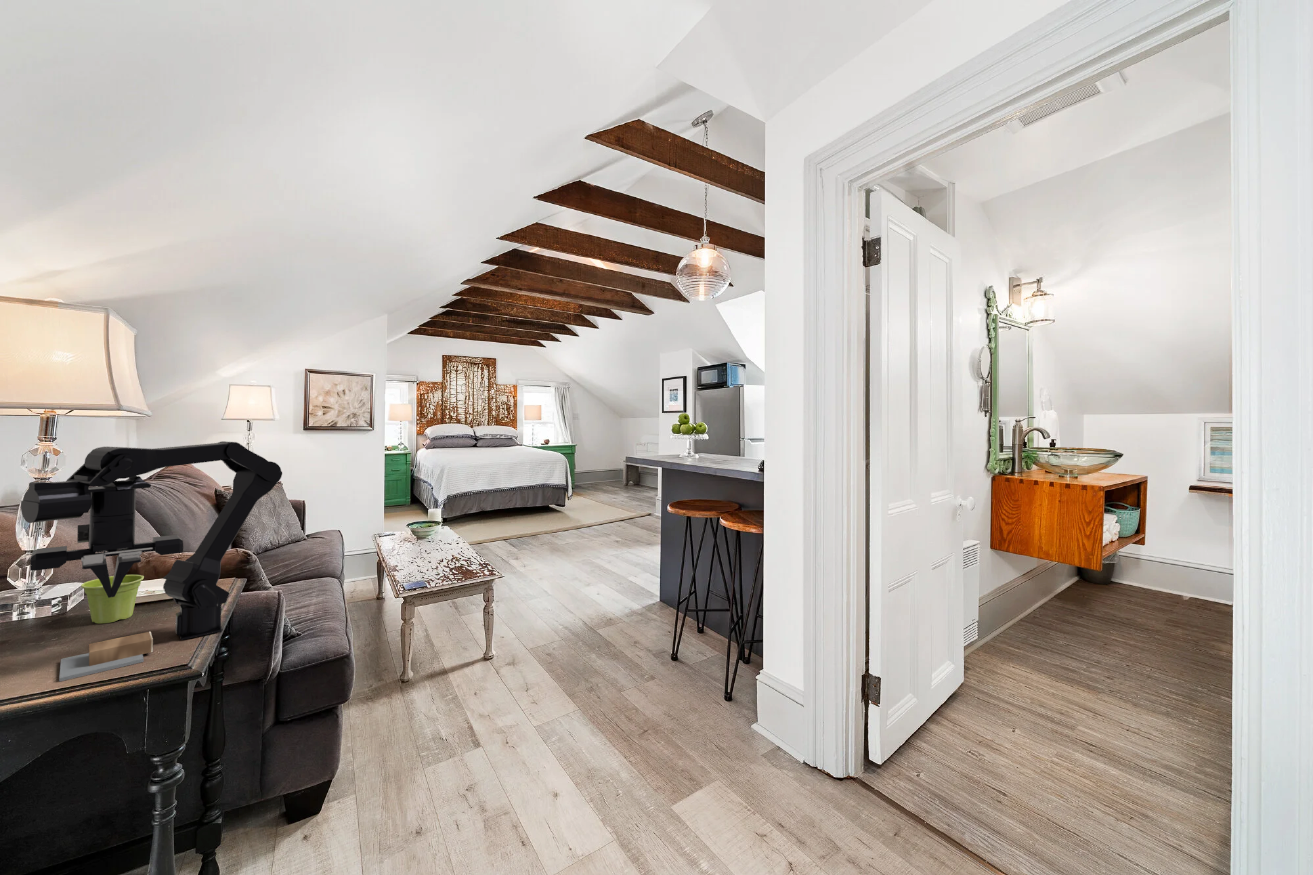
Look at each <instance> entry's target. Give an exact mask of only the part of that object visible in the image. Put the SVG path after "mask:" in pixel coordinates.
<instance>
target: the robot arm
mask: <svg viewBox="0 0 1313 875" xmlns="http://www.w3.org/2000/svg"><path fill="white" fill-rule="evenodd" d="M217 461H221V462H222V463H224V465H226V467H227V468H228V469H229V470H230V471H232V472H234V473H235V475H234V477H233V481H232V493H231V495H230V497H229V498H228V500H227V502H226V503H225V504H224V506H223V508H222V509H221V511H220V513H219V514H218V516H217V517H216V518H215V521H214V522H212V525H211V526H210V528H209V529H208V531H207V533H206V535H205V536H204V538H203V539H202V541H201V542H200V544H198V545H199V546H198V547H197V549H196V550H195V551H194V553H193V554H192V555H191V556H190V557H188V558H187V559H186V560H181V559H176V560H175V561H174V562H173V564H172V567H171V569H170V570H169V571H168V573H167V574H166V575H165V576H163V580H165V581H164V584H163V587H162V588H163V590H164V594H165V595H167V596H168V597H170V598H172V599H173V601H174V603H175V604H177V605H179V612H176V613H175V634H176V636H178V637H179V638H180V640H182V641H185V640H189V639H192V638H193V639H194V638H197V637H198V638H199V637H202V636H207V635H211V634H216V633H221V632H223V631H224V628H223V627H222V604H226V603H227V600H228V598H229V595H230V592H229V591H227V590H225V589H224V588H222V587H220V586H218V581H219V580H220V579H219V578H220V577H221V566H222V565H221V564H222V563H221V562H222V560H223V558H224V557H225V554H226V553H227V552H228V550H229V548H230V546H231V545H232V544H233V542H234V540H235V538H236V537H237V535H238V533H239V532H240V530H241V528H242V527H243V525H244V524H245V522H246V521H247V519H248V517H249V515H250V514H251V512H252V511H253V508H254V506H255V505H256V503H257V502H258V501H259V500H260V499H262V497H264V496H266V495H267V494H268V493H270V492H271V491H272V490H273V489H274V488H275V487H276V485H277V484H278V483H279V481H280V480H281V479H282V476H283V471H282V469H281V467H280V465H279V464H278V463H277V462H274V461H269V460H267V459H266V458H264V457H263V456H261V455H259V454H257V453H255V452H253V451H251V450H249V449H248V448H246V447H245V446H244V445H242V444H241V443H239V442H237V441H219V442H214V443H213V442H212V443H203V444H202V443H201V444H189V445H180V446H169V447H157V448H145V447H123V446H100V447H96V448H94V449H92V450H91V451H90V452H89V453H87V455H86V456H85V458H84V463H83V464H82V465H81V466H80V467H79V468H78V469H77V470H76V471H75V472H74V473H72V474H71V475H70V476H69V477H68V478H67V479H66V480H65V481H52V482H50V481H49V482H48V481H31V482H28V489H27V490H26V491H25V492H24V495H23V498H22V500H20V510H21V514H22V517H23V519H24V521H25V522H27V523H28V524H34V523H42V522H44V523H45V522H51V521H62V520H71V519H79V518H81V517H82V516H84V514H88V513H89V523H88V524H79V525H77V535H76V536H77V537H76V538H77V539H76V540H77V541H76V542H77V544H81V543H83V544H84V543H88V548H82V549H71V550H68V545H63V546H54V547H53V546H52V547H51V546H50V547H43V548H36V550H33V552H32V553H31V556H30V571H36V572H37V571H43V570H52V569H53V570H54V569H59V568H60V567H63V566H64V565H65V564H66V563H67V562H72V561H81V570H91V571H92V573H93V574H94V575H95V576H96V578H97V579H99V580H100V582H101V584H102V586H103V588H104V590H105V592H106V594H107V596H108V598H111V597H115V595H116V593H117V591H118V589H119V587H120V585H121V583H122V581H123V579H124V577H125V575H128V572H129V571H130V570H131V568H132V567H133V565H134V564H137V563H141V562H142V557H141V555H142V553H149V552H150V553H151V552H155V553H157V554H159V555H160V556H167V555H174V554H175V555H176V554H182V553H183V552H184V540H183V539H182V538H181V536H179V535H177V534H171V535H162V536H153V537H152V541H148V542H138V543H135V542H136V499H137V498H136V496H137V495H136V493H137V489H139V490H140V489H149V488H151V487H152V484H151V483H149V482H147V481H146V480H144V479H142V477H141V475H144V474H149V473H151V472H153V471H155V470H156V471H157V470H158V469H163V468H169V467H176V466H185V465H193V464H200V463H201V464H202V463H209V462H217ZM107 557H116V563H115V570H114V572H113V576H114V578H113V583H112V589H111V583H110V578H109V577H110V575H109V569H108V564H107V563H108V562H107Z"/></svg>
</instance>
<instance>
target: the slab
mask: <svg viewBox="0 0 1313 875" xmlns="http://www.w3.org/2000/svg"><path fill="white" fill-rule="evenodd" d="M153 647H154V638H153V635H152V632H151V631H146V632H141V633H140V632H139V633H136V634H131V635H127V636H121V637H117V638H112V639H107V640H103V641H97V642H92V643H89V644H88V653H89V666H93V665H97V664H101V663H106V662H110V661H115V660H119V659H123V658H128V657H132V656H137V655H141V654H143V655H145V654H150V653H153V651H154V648H153Z"/></svg>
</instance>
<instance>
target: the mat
mask: <svg viewBox="0 0 1313 875" xmlns="http://www.w3.org/2000/svg"><path fill="white" fill-rule="evenodd" d="M140 663H144V654H141V655H137V656H132V657H128V658H123V659H119V660H115V661H110V662H106V663H101V664H97V665H93V666H89V652H87V653H83V654H82V653H81V654H77V655H73V656H68V657H64V658H60V667H59V678H58V679H59V680H58V681H59V682H64V681H68V680H72V679H76V678H81V677H85V676H89V675H93V674H97V673H101V672H106V671H110V670H114V669H118V668H123V667H126V666H127V667H128V666H130V665H135V664H140Z"/></svg>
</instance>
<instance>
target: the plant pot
mask: <svg viewBox="0 0 1313 875" xmlns="http://www.w3.org/2000/svg"><path fill="white" fill-rule="evenodd" d="M109 578H110V583H111V589H112V583H113V578H114V575H113V576H109ZM144 578H145V576H144V575H141V574H126V575H125V577H124V579H123V581H122V583H121V585H120V587H119V589H118V591H117V593H116V595H115V597H111V598H108V596H107V594H106V592H105V590H104V588H103V586H102V584H101V582H100V580H99V579H98V578H96V579H92V580H88V581H85V582H83V583H82V584H81V585H80V587H81V588H82V589H83V590H84V594H86V598H87V602H88V607H89V608H88V610H89V615H90V618H91V622H92V623H95V624H109V623H114V622H115V623H116V621H118V620H119V621H120V620H126V619H129V618H131V617H132V616H133V614H134V609H135V604H136V600H137V596H138V593H139V592H138V591H139V587H140V586H141V582H142V581H143V580H144Z"/></svg>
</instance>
